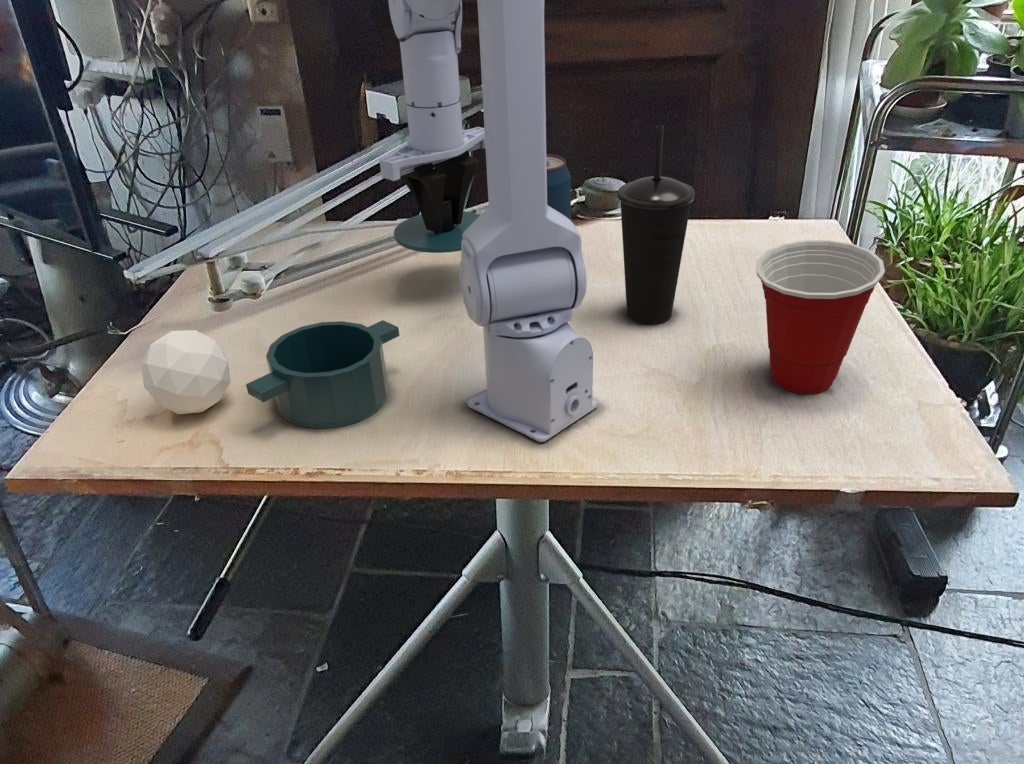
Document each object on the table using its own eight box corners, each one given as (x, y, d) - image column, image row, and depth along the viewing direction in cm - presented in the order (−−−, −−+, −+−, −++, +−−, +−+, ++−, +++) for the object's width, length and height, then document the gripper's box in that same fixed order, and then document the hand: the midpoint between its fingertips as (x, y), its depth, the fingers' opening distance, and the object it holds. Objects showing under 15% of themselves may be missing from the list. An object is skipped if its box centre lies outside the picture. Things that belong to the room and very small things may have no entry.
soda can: (556, 243, 114) (555, 148, 107) (580, 263, 109) (581, 164, 102) (506, 253, 112) (501, 157, 105) (528, 274, 106) (525, 174, 99)
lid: (515, 234, 102) (513, 195, 99) (442, 266, 95) (438, 225, 92) (446, 212, 108) (443, 175, 106) (374, 241, 102) (369, 202, 99)
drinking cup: (665, 294, 101) (677, 111, 89) (697, 323, 95) (715, 131, 83) (602, 305, 99) (607, 120, 87) (631, 336, 93) (640, 142, 81)
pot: (430, 382, 87) (425, 332, 84) (297, 455, 78) (286, 402, 75) (363, 349, 93) (356, 301, 90) (232, 413, 84) (219, 362, 80)
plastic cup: (719, 364, 88) (732, 249, 81) (813, 342, 90) (833, 230, 84) (783, 420, 79) (803, 297, 72) (884, 395, 82) (913, 274, 75)
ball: (181, 437, 86) (110, 384, 82) (224, 374, 89) (158, 321, 85) (216, 426, 80) (141, 369, 76) (261, 360, 84) (192, 302, 80)
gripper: (456, 81, 100) (465, 200, 107) (354, 110, 91) (371, 237, 99) (502, 90, 95) (507, 213, 103) (399, 121, 87) (414, 252, 95)
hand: (443, 226), depth 101 cm, fingers closed on lid, 2 cm apart
